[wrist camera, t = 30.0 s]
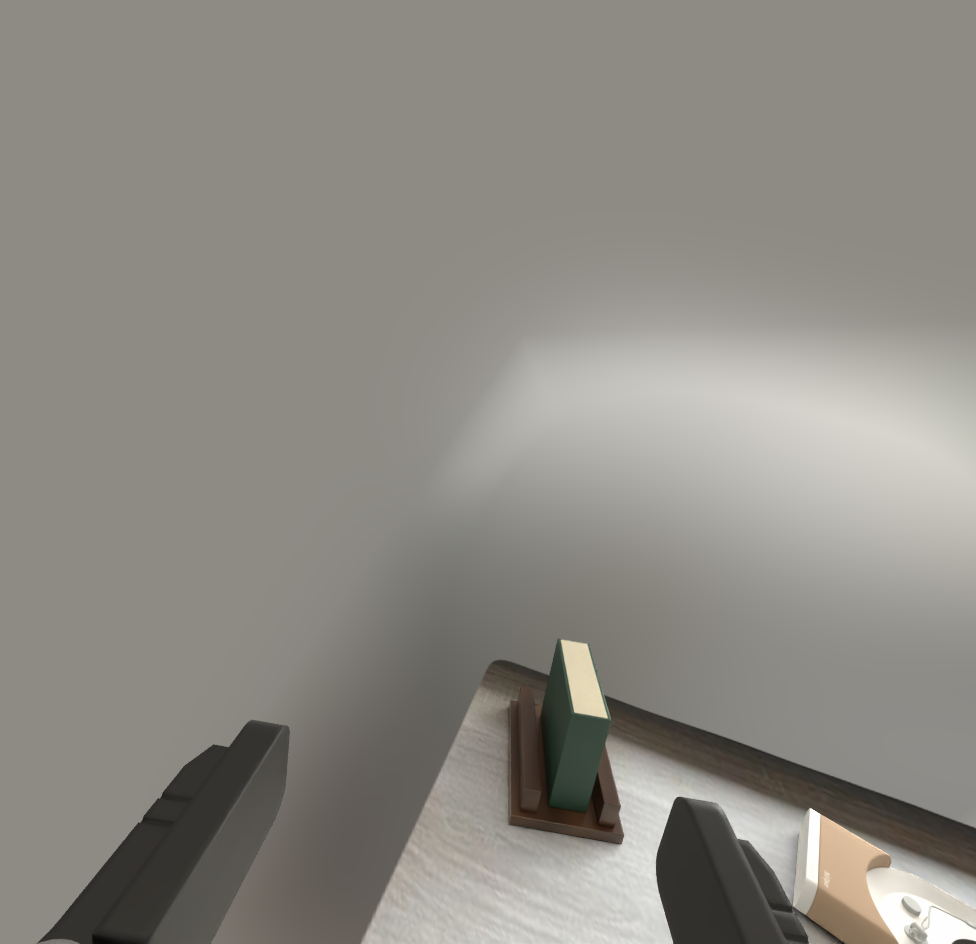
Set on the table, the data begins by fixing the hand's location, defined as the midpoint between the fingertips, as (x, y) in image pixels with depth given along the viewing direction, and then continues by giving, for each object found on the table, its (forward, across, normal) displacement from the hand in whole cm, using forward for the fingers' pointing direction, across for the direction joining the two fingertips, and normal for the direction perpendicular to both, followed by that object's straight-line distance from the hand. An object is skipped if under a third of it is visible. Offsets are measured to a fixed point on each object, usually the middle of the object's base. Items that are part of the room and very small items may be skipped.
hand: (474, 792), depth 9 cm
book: (+31, -11, +29) cm, 44 cm away
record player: (+19, -40, +30) cm, 54 cm away
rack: (+31, -11, +30) cm, 45 cm away
